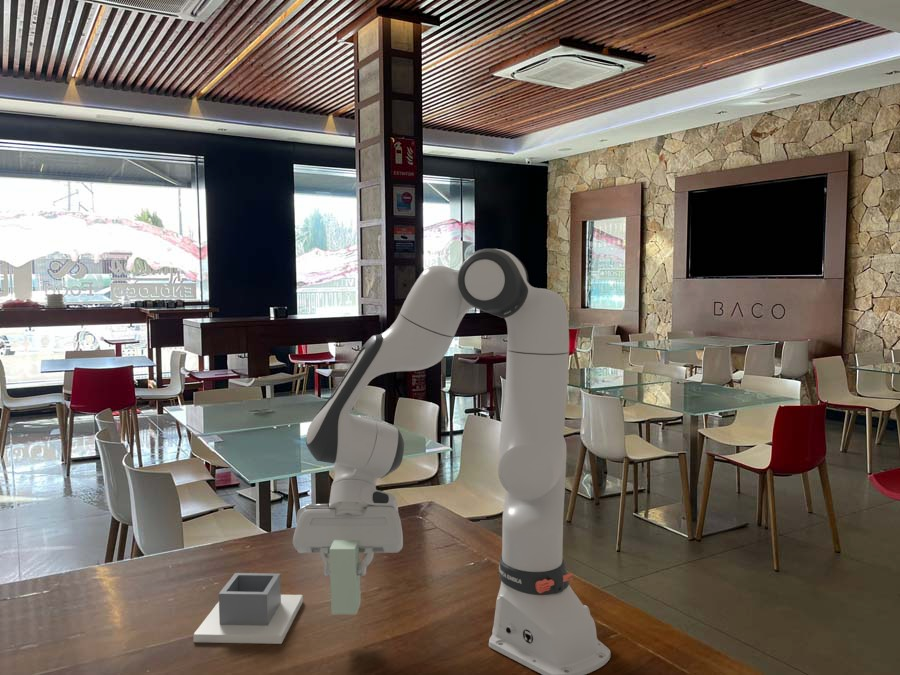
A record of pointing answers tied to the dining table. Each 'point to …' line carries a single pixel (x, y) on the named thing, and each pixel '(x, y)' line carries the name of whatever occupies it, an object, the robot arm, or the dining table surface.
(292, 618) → the well stand
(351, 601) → the sage block
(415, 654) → the dining table surface
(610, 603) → the dining table surface
